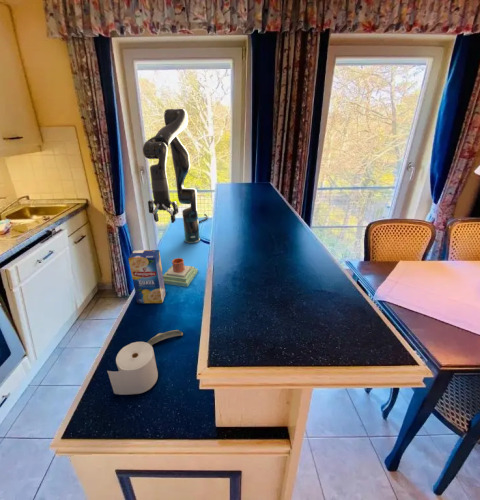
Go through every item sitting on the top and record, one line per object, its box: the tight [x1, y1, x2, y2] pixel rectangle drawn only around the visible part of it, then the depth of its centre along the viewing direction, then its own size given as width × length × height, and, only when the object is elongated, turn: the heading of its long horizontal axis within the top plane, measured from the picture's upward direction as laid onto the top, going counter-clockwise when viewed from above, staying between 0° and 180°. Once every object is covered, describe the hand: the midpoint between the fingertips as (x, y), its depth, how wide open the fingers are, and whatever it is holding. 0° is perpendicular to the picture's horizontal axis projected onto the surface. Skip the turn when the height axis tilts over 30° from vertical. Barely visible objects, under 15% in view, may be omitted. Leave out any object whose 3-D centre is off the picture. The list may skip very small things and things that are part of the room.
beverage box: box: [127, 249, 167, 304], centre depth 118 cm, size 7×11×22 cm, turn 88°
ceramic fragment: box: [146, 329, 184, 346], centre depth 100 cm, size 14×5×4 cm, turn 112°
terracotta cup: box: [171, 257, 185, 273], centre depth 135 cm, size 6×6×5 cm
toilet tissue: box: [106, 341, 159, 396], centre depth 83 cm, size 11×12×10 cm
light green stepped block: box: [163, 265, 199, 288], centre depth 137 cm, size 14×14×4 cm
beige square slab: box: [165, 265, 191, 277], centre depth 136 cm, size 9×9×2 cm
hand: (164, 221), depth 134 cm, fingers open, 8 cm apart
